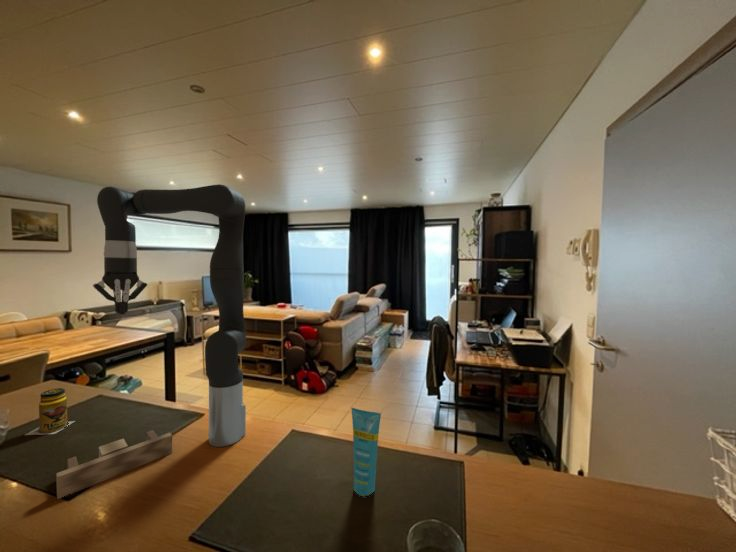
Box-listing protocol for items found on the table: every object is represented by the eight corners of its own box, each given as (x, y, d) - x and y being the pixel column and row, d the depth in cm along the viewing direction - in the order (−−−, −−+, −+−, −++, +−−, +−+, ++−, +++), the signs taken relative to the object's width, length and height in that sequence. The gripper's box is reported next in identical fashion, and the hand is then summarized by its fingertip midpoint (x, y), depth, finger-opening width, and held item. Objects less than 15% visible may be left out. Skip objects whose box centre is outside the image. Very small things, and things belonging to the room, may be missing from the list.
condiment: (55, 434, 90) (55, 395, 90) (23, 435, 89) (22, 396, 89) (75, 421, 98) (75, 385, 97) (46, 423, 96) (45, 386, 96)
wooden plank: (162, 440, 88) (162, 423, 88) (172, 452, 82) (172, 435, 82) (54, 480, 71) (54, 459, 71) (57, 499, 65) (57, 477, 65)
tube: (346, 493, 68) (347, 411, 68) (353, 479, 73) (354, 402, 72) (377, 501, 66) (378, 417, 66) (382, 486, 71) (384, 407, 70)
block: (123, 456, 80) (123, 438, 80) (128, 464, 77) (127, 445, 77) (99, 465, 77) (98, 446, 77) (102, 474, 73) (102, 455, 73)
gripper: (93, 255, 81) (93, 318, 82) (151, 257, 91) (151, 313, 92) (88, 256, 86) (89, 315, 87) (144, 257, 96) (144, 310, 97)
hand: (121, 314), depth 89 cm, fingers closed
